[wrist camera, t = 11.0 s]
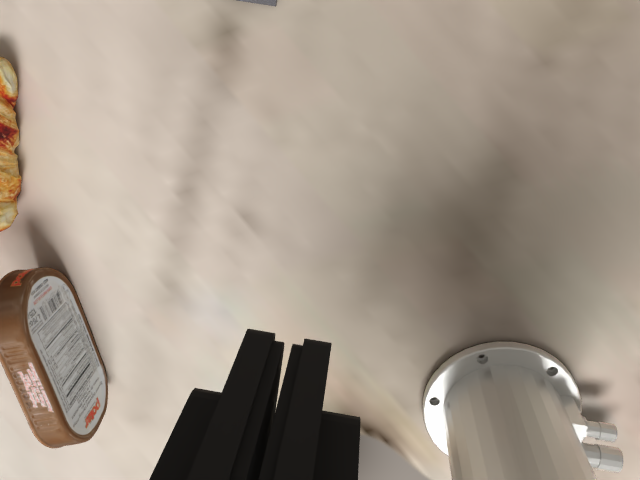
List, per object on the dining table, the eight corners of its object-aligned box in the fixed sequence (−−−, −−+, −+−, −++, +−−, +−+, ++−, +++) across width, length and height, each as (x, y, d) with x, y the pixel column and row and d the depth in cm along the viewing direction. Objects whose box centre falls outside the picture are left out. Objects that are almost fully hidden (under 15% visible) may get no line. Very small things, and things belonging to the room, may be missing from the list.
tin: (32, 253, 47) (-37, 303, 39) (67, 247, 46) (4, 298, 39) (92, 402, 52) (43, 472, 45) (124, 399, 52) (80, 469, 44)
